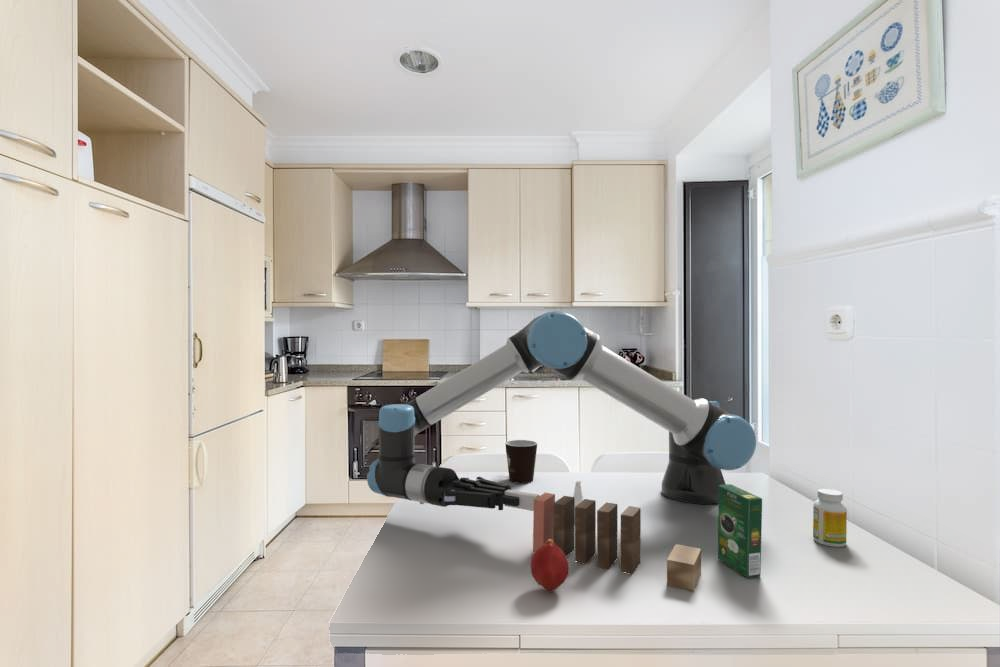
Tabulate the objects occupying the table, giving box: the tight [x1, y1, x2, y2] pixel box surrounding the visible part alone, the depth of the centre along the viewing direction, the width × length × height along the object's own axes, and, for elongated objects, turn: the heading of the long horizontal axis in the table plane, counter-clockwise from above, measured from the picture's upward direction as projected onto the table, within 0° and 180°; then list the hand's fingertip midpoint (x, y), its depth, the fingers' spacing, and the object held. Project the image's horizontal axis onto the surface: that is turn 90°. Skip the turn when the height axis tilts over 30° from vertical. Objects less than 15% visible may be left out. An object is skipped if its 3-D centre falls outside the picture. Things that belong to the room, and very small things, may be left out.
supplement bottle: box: [812, 488, 848, 548], centre depth 101 cm, size 5×5×10 cm
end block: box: [666, 544, 702, 592], centre depth 85 cm, size 4×7×4 cm, turn 151°
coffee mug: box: [505, 439, 538, 484], centre depth 145 cm, size 12×9×10 cm
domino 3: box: [574, 498, 597, 565], centre depth 93 cm, size 2×5×10 cm, turn 151°
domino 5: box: [619, 505, 642, 575], centre depth 90 cm, size 2×5×10 cm, turn 151°
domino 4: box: [596, 501, 618, 570], centre depth 91 cm, size 2×5×10 cm, turn 151°
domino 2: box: [553, 495, 575, 557], centre depth 95 cm, size 2×5×10 cm, turn 151°
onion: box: [530, 539, 570, 593], centre depth 81 cm, size 6×6×8 cm
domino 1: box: [532, 492, 556, 553], centre depth 97 cm, size 2×5×10 cm, turn 151°
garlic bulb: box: [572, 480, 585, 506], centre depth 115 cm, size 6×6×8 cm
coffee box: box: [717, 483, 763, 579], centre depth 89 cm, size 8×3×13 cm, turn 13°
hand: (537, 502), depth 98 cm, fingers closed
